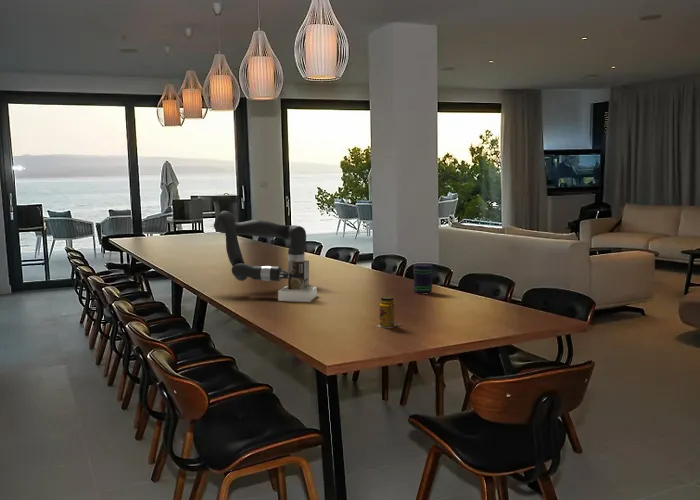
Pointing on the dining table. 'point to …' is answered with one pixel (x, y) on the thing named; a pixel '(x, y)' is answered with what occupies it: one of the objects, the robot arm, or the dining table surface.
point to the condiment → (387, 312)
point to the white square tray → (297, 294)
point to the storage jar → (422, 278)
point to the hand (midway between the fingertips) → (302, 274)
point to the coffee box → (299, 268)
